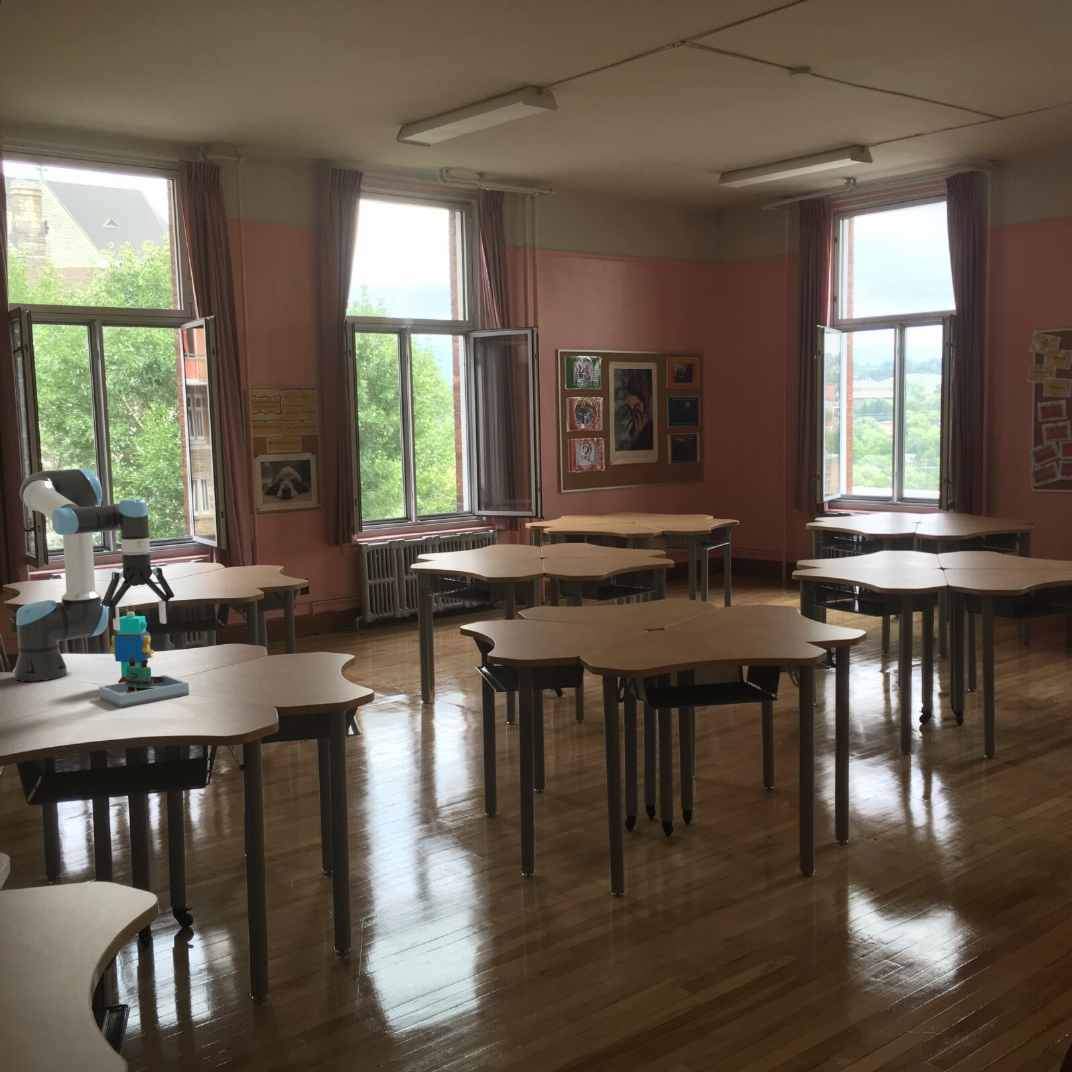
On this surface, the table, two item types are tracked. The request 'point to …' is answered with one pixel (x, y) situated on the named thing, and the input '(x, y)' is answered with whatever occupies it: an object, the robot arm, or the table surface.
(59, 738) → the table surface
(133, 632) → the toy robot
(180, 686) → the light blue rectangular tray
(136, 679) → the binoculars
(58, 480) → the robot arm
